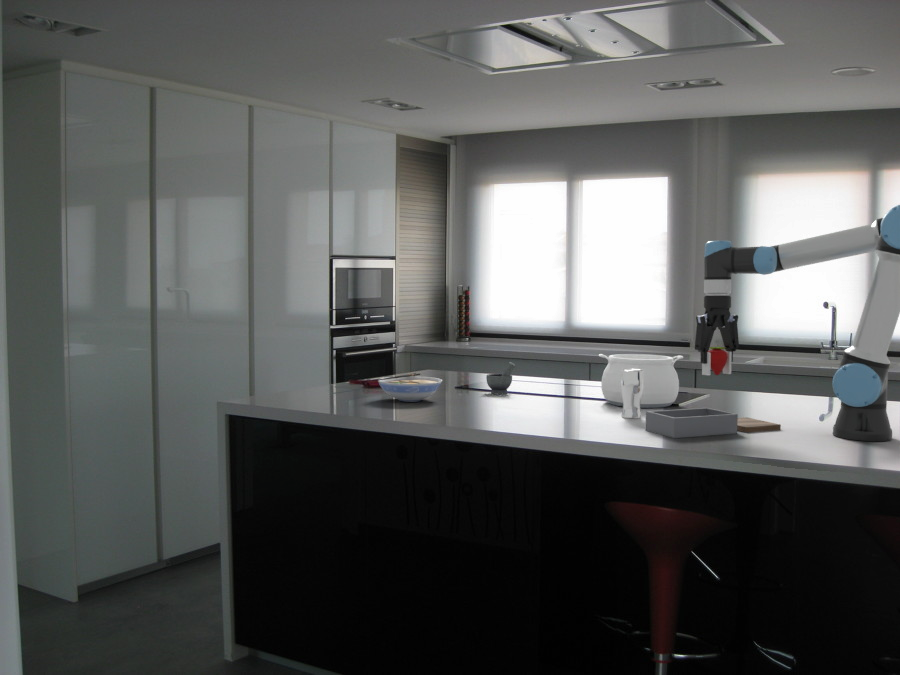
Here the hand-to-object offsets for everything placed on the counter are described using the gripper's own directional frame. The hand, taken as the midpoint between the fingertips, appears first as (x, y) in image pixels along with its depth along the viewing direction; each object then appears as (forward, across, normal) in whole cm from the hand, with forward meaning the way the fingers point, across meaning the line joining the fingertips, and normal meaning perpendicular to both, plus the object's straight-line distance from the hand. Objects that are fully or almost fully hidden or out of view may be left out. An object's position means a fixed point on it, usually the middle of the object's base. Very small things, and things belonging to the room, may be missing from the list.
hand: (716, 374), depth 256 cm
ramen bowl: (+14, +60, -87) cm, 107 cm away
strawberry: (0, 0, 0) cm, 0 cm away
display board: (+16, -12, -1) cm, 21 cm away
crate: (+16, +8, -1) cm, 18 cm away
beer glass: (+16, +9, -29) cm, 34 cm away
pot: (+16, -12, -52) cm, 56 cm away
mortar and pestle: (+15, +21, -93) cm, 97 cm away
